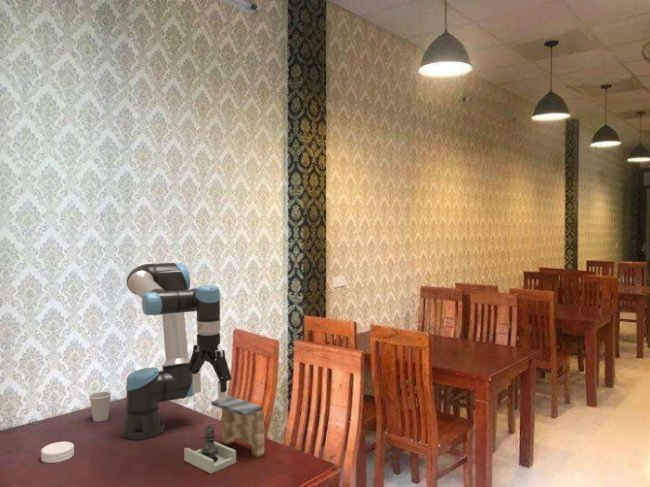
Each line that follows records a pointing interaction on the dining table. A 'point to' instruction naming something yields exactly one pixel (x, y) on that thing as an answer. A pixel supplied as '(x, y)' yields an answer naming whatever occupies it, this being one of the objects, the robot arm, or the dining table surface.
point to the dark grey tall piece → (210, 444)
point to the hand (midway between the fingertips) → (209, 396)
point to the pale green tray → (207, 464)
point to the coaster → (57, 452)
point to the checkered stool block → (242, 423)
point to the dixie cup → (100, 405)
